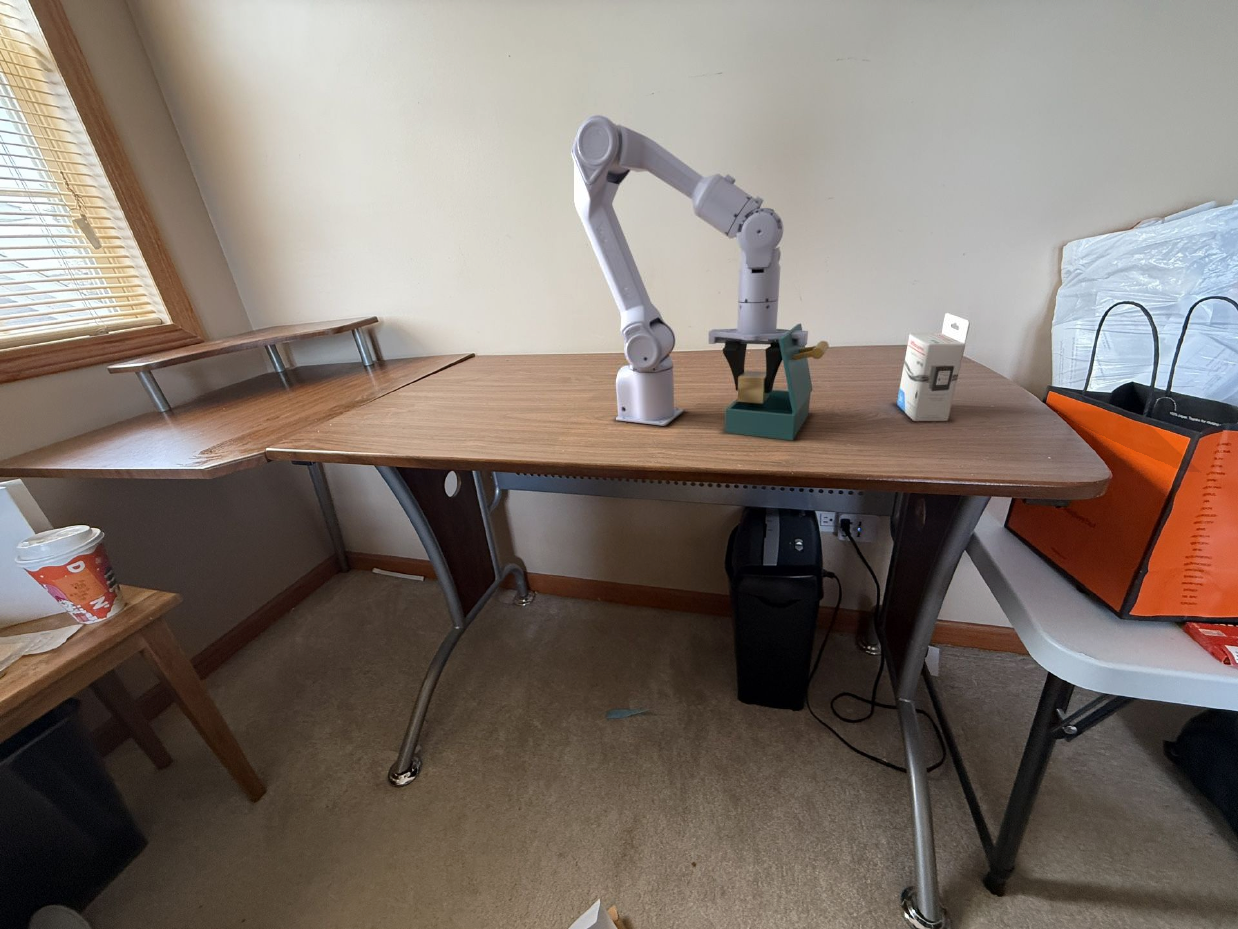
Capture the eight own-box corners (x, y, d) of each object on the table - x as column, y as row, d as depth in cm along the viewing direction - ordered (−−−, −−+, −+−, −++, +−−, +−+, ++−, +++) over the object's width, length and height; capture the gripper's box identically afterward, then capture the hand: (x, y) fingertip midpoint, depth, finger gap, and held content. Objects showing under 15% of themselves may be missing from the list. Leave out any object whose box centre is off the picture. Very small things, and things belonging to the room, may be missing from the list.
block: (737, 401, 76) (738, 376, 74) (744, 394, 79) (745, 370, 77) (762, 403, 74) (764, 378, 72) (769, 396, 77) (770, 371, 75)
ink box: (895, 404, 80) (911, 313, 74) (927, 404, 79) (946, 312, 73) (913, 422, 73) (932, 322, 67) (949, 422, 72) (972, 320, 66)
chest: (724, 432, 75) (725, 409, 73) (747, 408, 84) (748, 387, 82) (792, 440, 70) (794, 416, 68) (808, 414, 79) (810, 392, 77)
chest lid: (778, 339, 65) (814, 331, 62) (797, 324, 74) (828, 316, 72) (792, 413, 68) (827, 409, 65) (808, 390, 77) (839, 385, 75)
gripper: (701, 304, 71) (701, 393, 76) (804, 303, 64) (796, 401, 69) (717, 298, 76) (716, 382, 82) (813, 297, 69) (805, 388, 75)
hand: (753, 390), depth 76 cm, fingers closed on block, 4 cm apart
